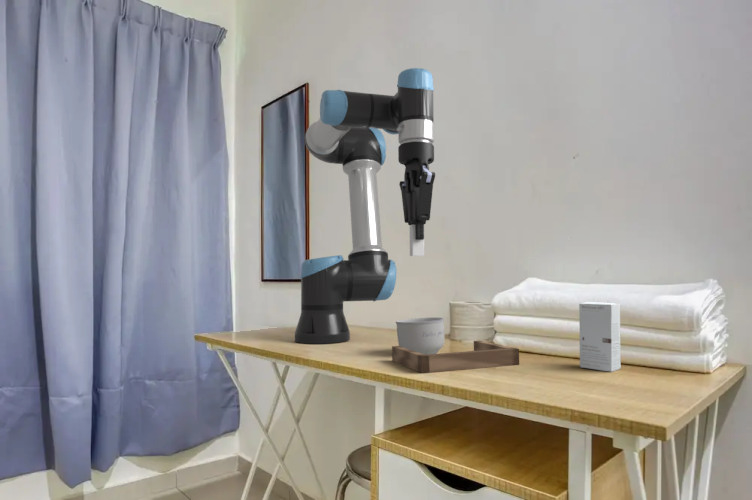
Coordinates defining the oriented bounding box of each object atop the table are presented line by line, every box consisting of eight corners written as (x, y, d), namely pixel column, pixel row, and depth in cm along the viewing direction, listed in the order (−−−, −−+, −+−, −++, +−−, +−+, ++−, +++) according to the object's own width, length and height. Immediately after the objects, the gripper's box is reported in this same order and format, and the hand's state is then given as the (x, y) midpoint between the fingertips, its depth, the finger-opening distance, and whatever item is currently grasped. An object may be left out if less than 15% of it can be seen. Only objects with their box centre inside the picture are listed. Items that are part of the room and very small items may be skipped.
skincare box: (579, 368, 91) (576, 302, 91) (589, 364, 94) (587, 301, 94) (613, 372, 86) (610, 303, 87) (623, 369, 89) (620, 302, 90)
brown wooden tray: (392, 361, 101) (392, 346, 101) (479, 354, 108) (479, 340, 108) (422, 373, 88) (421, 356, 88) (519, 364, 95) (518, 348, 95)
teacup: (428, 360, 102) (428, 321, 102) (386, 355, 108) (386, 319, 109) (460, 351, 113) (459, 316, 113) (420, 347, 119) (419, 314, 120)
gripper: (388, 150, 108) (389, 256, 107) (412, 135, 96) (413, 255, 95) (419, 152, 110) (420, 256, 110) (446, 138, 98) (448, 255, 97)
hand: (417, 255), depth 102 cm, fingers closed
